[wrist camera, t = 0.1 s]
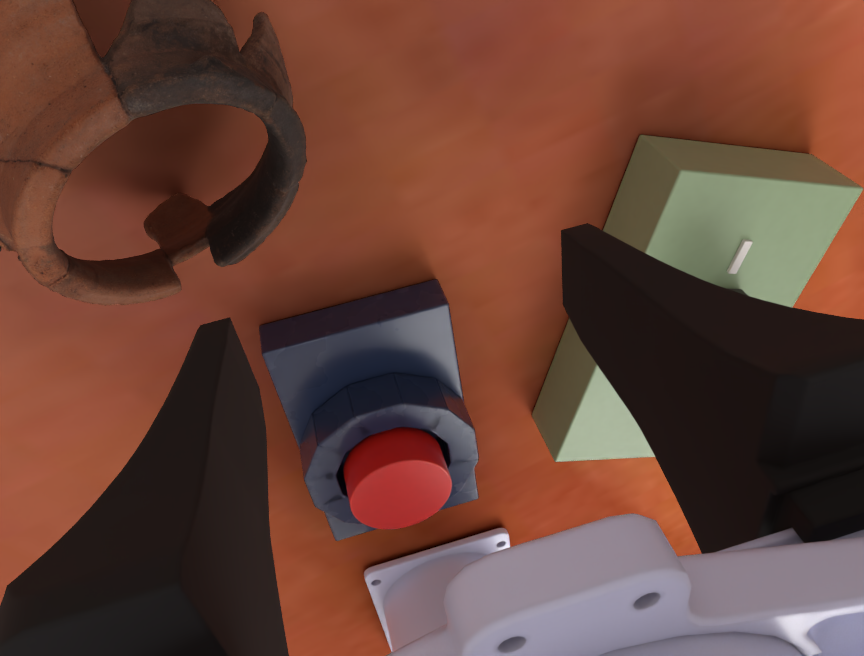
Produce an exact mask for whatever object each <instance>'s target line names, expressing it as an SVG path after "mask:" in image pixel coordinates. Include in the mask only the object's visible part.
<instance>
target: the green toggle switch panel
mask: <svg viewBox="0 0 864 656" xmlns="http://www.w3.org/2000/svg"><path fill="white" fill-rule="evenodd" d="M862 190H863V188H862V187H861V186H860V185H858V184H857V183H855V182H854V181H852V180H850V179H849V178H847V177H846V176H844V175H843V174H841V173H840V172H838V171H837V170H835V169H834V168H832V167H830V166H829V165H827V164H826V163H824V162H823V161H821V160H820V159H818V158H817V157H815V156H814V155H812V154H805V153H796V152H788V151H779V150H770V149H762V148H753V147H744V146H735V145H727V144H718V143H709V142H700V141H692V140H683V139H674V138H665V137H657V136H648V135H640V136H639V138H638V141H637V143H636V146H635V149H634V151H633V154H632V156H631V159H630V162H629V164H628V167H627V169H626V172H625V174H624V177H623V180H622V182H621V185H620V187H619V190H618V193H617V195H616V198H615V200H614V203H613V206H612V208H611V211H610V213H609V216H608V219H607V221H606V224H605V226H604V229H603V231H604V232H606V233H608V234H610V235H612V236H614V237H615V238H617V239H619V240H621V241H623V242H625V243H627V244H629V245H630V246H632V247H634V248H636V249H638V250H640V251H642V252H644V253H646V254H648V255H650V256H652V257H654V258H656V259H658V260H660V261H662V262H664V263H666V264H668V265H670V266H672V267H674V268H677V269H679V270H681V271H683V272H686V273H688V274H690V275H693V276H695V277H697V278H700V279H702V280H704V281H707V282H710V283H712V284H715V285H717V286H720V287H723V288H729V289H742V290H743V291H744V292H745V293H746V294H747V295H748V296H750V297H754V298H757V299H761V300H765V301H768V302H772V303H776V304H780V305H784V306H788V307H793V305H794V304H795V302H796V300H797V299H798V297H799V295H800V294H801V292H802V290H803V289H804V287H805V285H806V284H807V282H808V280H809V279H810V277H811V275H812V274H813V272H814V270H815V269H816V267H817V265H818V264H819V262H820V260H821V259H822V257H823V255H824V254H825V252H826V250H827V249H828V247H829V245H830V244H831V242H832V240H833V239H834V237H835V235H836V234H837V232H838V230H839V229H840V227H841V225H842V224H843V222H844V220H845V219H846V217H847V215H848V214H849V212H850V210H851V209H852V207H853V205H854V204H855V202H856V200H857V199H858V197H859V195H860V194H861V192H862ZM532 417H533V419H534V421H535V423H536V425H537V427H538V429H539V431H540V433H541V435H542V437H543V439H544V441H545V443H546V445H547V447H548V449H549V451H550V453H551V455H552V457H553V459H554V461H555V462H563V461H582V460H601V459H620V458H639V457H655V455H654V453H653V452H652V450H651V448H650V446H649V444H648V442H647V440H646V438H645V437H644V435H643V433H642V431H641V429H640V427H639V426H638V424H637V423H636V421H635V419H634V418H633V416H632V415H631V413H630V411H629V410H628V409H627V407H626V406H625V404H624V403H623V401H622V400H621V399H620V397H619V396H618V394H617V393H616V391H615V390H614V388H613V387H612V386H611V384H610V383H609V381H608V380H607V378H606V377H605V375H604V374H603V373H602V371H601V370H600V368H599V367H598V365H597V364H596V362H595V361H594V360H593V358H592V357H591V355H590V354H589V352H588V351H587V349H586V348H585V346H584V345H583V343H582V342H581V340H580V338H579V336H578V334H577V332H576V330H575V328H574V326H573V325H572V322H571V320H570V318H569V320H568V322H567V325H566V327H565V330H564V333H563V335H562V338H561V340H560V343H559V346H558V348H557V351H556V353H555V356H554V359H553V361H552V364H551V366H550V369H549V371H548V374H547V377H546V379H545V382H544V384H543V387H542V390H541V392H540V395H539V397H538V400H537V403H536V405H535V408H534V410H533V413H532Z"/></svg>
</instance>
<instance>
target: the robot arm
mask: <svg viewBox="0 0 864 656" xmlns="http://www.w3.org/2000/svg"><path fill="white" fill-rule="evenodd" d="M561 247H562V288H563V306H564V308H565V310H566V312H567V314H568V316H569V318H570V320H571V322H572V325H573V326H574V328H575V330H576V332H577V334H578V336H579V338H580V340H581V342H582V343H583V345H584V346H585V348H586V349H587V351H588V352H589V354H590V355H591V357H592V358H593V360H594V361H595V362H596V364H597V365H598V367H599V368H600V370H601V371H602V373H603V374H604V375H605V377H606V378H607V380H608V381H609V383H610V384H611V386H612V387H613V388H614V390H615V391H616V393H617V394H618V396H619V397H620V399H621V400H622V401H623V403H624V404H625V406H626V407H627V409H628V410H629V411H630V413H631V415H632V416H633V418H634V419H635V421H636V423H637V424H638V426H639V427H640V429H641V431H642V433H643V435H644V437H645V438H646V440H647V442H648V444H649V446H650V448H651V450H652V452H653V453H654V455H655V457H656V459H657V461H658V463H659V465H660V467H661V469H662V471H663V473H664V475H665V477H666V479H667V481H668V483H669V485H670V487H671V489H672V491H673V493H674V495H675V496H676V498H677V501H678V503H679V505H680V507H681V509H682V511H683V513H684V515H685V518H686V520H687V522H688V524H689V526H690V528H691V530H692V532H693V535H694V537H695V539H696V541H697V543H698V546H699V548H700V550H701V552H702V554H696V555H686V556H677V555H676V554H675V552H674V550H673V549H672V547H671V545H670V544H669V542H668V540H667V539H666V537H665V535H664V534H663V532H662V530H661V529H660V527H659V525H658V523H657V522H656V520H653V519H650V518H647V517H644V516H641V515H638V514H625V515H618V516H611V517H607V518H603V519H600V520H597V521H594V522H590V523H587V524H584V525H581V526H577V527H574V528H571V529H568V530H564V531H561V532H558V533H555V534H551V535H548V536H545V537H542V538H539V539H535V540H532V541H529V542H526V543H522V544H519V545H516V546H513V547H510V540H509V534H508V532H507V530H506V529H505V528H497V529H493V530H490V531H487V532H484V533H480V534H477V535H474V536H470V537H467V538H464V539H461V540H457V541H454V542H451V543H447V544H444V545H441V546H438V547H434V548H431V549H428V550H424V551H421V552H418V553H415V554H411V555H408V556H405V557H401V558H398V559H395V560H392V561H388V562H385V563H382V564H378V565H375V566H372V567H369V568H368V569H366V570H365V572H364V577H365V581H366V584H367V587H368V589H369V592H370V595H371V597H372V600H373V603H374V605H375V608H376V611H377V613H378V616H379V619H380V622H381V624H382V627H383V630H384V632H385V635H386V638H387V640H388V643H389V646H390V648H391V651H392V653H390V654H388V655H386V656H864V320H863V319H854V318H846V317H840V316H834V315H828V314H822V313H817V312H811V311H806V310H802V309H797V308H792V307H788V306H784V305H780V304H776V303H772V302H768V301H765V300H761V299H757V298H754V297H750V296H747V295H744V294H741V293H738V292H735V291H732V290H729V289H726V288H723V287H720V286H717V285H715V284H712V283H710V282H707V281H704V280H702V279H700V278H697V277H695V276H693V275H690V274H688V273H686V272H683V271H681V270H679V269H677V268H674V267H672V266H670V265H668V264H666V263H664V262H662V261H660V260H658V259H656V258H654V257H652V256H650V255H648V254H646V253H644V252H642V251H640V250H638V249H636V248H634V247H632V246H630V245H629V244H627V243H625V242H623V241H621V240H619V239H617V238H615V237H614V236H612V235H610V234H608V233H606V232H604V231H602V230H600V229H598V228H597V227H595V226H592V225H590V224H588V223H587V224H583V225H579V226H576V227H572V228H568V229H564V230H561ZM0 656H289V654H288V648H287V643H286V637H285V631H284V625H283V619H282V613H281V606H280V600H279V593H278V587H277V581H276V574H275V567H274V560H273V553H272V546H271V538H270V526H269V505H268V470H267V439H266V425H265V419H264V413H263V407H262V401H261V395H260V389H259V386H258V384H257V381H256V379H255V376H254V374H253V372H252V369H251V367H250V364H249V362H248V360H247V357H246V355H245V352H244V350H243V348H242V345H241V343H240V340H239V338H238V336H237V333H236V331H235V328H234V326H233V324H232V321H231V319H230V317H229V318H226V319H222V320H218V321H214V322H210V323H207V324H203V325H200V327H199V328H198V330H197V332H196V334H195V337H194V339H193V342H192V344H191V347H190V349H189V351H188V354H187V356H186V358H185V361H184V363H183V365H182V367H181V370H180V372H179V374H178V376H177V378H176V380H175V382H174V384H173V386H172V388H171V390H170V392H169V394H168V397H167V398H166V400H165V402H164V404H163V406H162V408H161V409H160V411H159V413H158V415H157V417H156V418H155V420H154V422H153V424H152V425H151V427H150V429H149V431H148V432H147V434H146V436H145V437H144V439H143V440H142V442H141V443H140V445H139V447H138V448H137V450H136V451H135V453H134V454H133V455H132V457H131V458H130V460H129V461H128V463H127V464H126V465H125V467H124V468H123V469H122V471H121V472H120V473H119V474H118V476H117V477H116V478H115V479H114V480H113V482H112V483H111V484H110V485H109V486H108V488H107V489H106V490H105V491H104V492H103V494H102V495H101V496H100V497H99V499H98V500H97V501H96V502H95V503H94V504H93V506H92V507H91V508H90V509H89V510H88V511H87V512H86V513H85V514H84V515H83V516H82V517H81V518H80V519H79V521H78V522H77V523H76V524H75V525H74V526H73V527H72V528H71V529H70V530H69V531H68V532H67V533H66V534H65V535H64V536H63V537H62V538H61V539H60V540H59V541H58V542H56V543H55V544H54V545H53V546H52V547H51V548H50V549H49V550H48V551H47V552H46V553H45V554H43V555H42V556H41V557H40V558H39V559H38V560H37V561H35V562H34V563H33V564H32V565H31V566H30V567H29V568H27V569H26V570H25V571H24V572H23V573H22V574H21V575H19V576H18V577H17V578H16V579H15V580H14V581H12V582H11V583H10V584H9V585H7V588H6V591H5V594H4V597H3V600H2V603H1V606H0Z"/></svg>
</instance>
